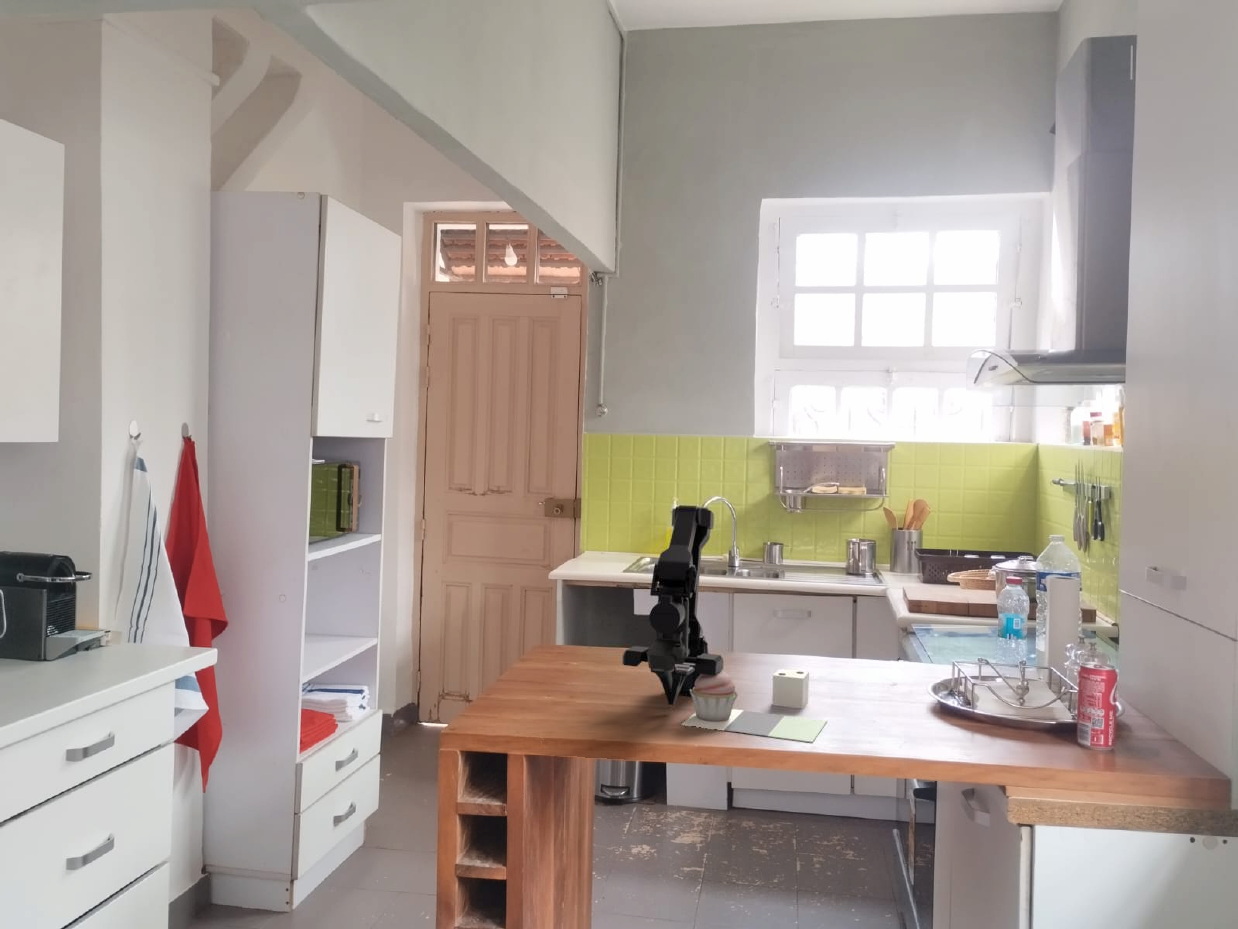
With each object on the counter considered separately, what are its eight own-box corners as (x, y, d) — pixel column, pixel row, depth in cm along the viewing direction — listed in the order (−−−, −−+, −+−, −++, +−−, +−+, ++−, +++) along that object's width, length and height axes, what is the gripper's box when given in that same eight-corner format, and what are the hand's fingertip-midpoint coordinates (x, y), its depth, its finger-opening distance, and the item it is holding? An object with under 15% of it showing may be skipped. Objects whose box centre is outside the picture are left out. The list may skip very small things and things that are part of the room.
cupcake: (736, 726, 178) (737, 671, 178) (685, 722, 180) (686, 668, 180) (740, 712, 188) (741, 660, 187) (692, 708, 189) (693, 657, 189)
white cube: (772, 705, 194) (773, 674, 194) (778, 698, 200) (779, 668, 199) (802, 709, 192) (803, 678, 192) (808, 701, 197) (809, 671, 197)
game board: (681, 725, 179) (681, 724, 179) (704, 706, 192) (704, 705, 192) (812, 743, 170) (812, 741, 170) (826, 722, 183) (826, 721, 183)
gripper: (612, 626, 183) (610, 709, 183) (707, 636, 176) (705, 722, 176) (634, 617, 193) (632, 695, 193) (725, 625, 186) (723, 707, 186)
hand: (671, 704), depth 187 cm, fingers closed
